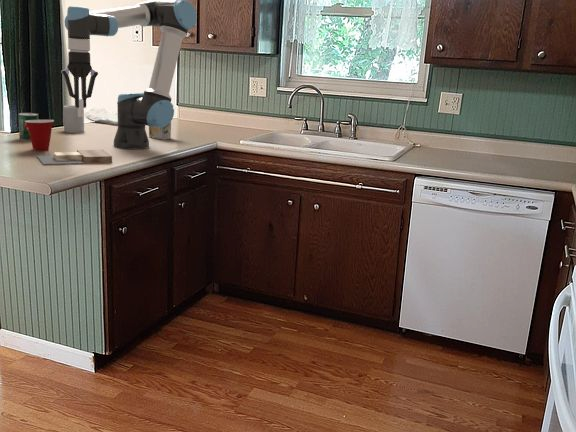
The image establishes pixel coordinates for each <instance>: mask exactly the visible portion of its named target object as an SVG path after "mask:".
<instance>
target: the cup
mask: <svg viewBox="0 0 576 432" xmlns="http://www.w3.org/2000/svg"><path fill="white" fill-rule="evenodd" d="M83 109H84V110H85V108H83ZM63 131H64V132H65V133H70V134H82V133H85V116H84V117H79V116H78V108H76V107H75V105H63Z"/></svg>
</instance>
